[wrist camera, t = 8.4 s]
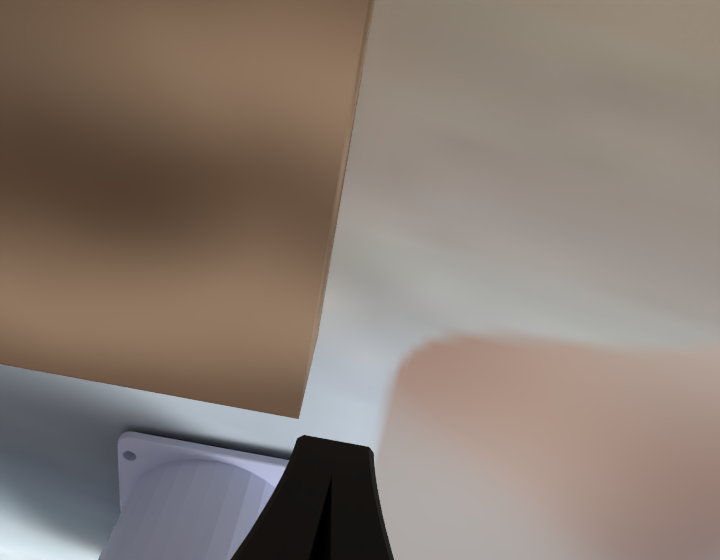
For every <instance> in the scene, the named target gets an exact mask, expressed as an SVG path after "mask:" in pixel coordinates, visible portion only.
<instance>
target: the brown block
mask: <svg viewBox="0 0 720 560" xmlns="http://www.w3.org/2000/svg"><path fill="white" fill-rule="evenodd" d="M373 4H374V0H0V364H3V365H8V366H14V367H19V368H25V369H30V370H36V371H41V372H47V373H52V374H57V375H63V376H68V377H74V378H79V379H85V380H90V381H95V382H101V383H106V384H112V385H117V386H123V387H128V388H133V389H139V390H144V391H150V392H155V393H161V394H166V395H172V396H177V397H182V398H188V399H193V400H199V401H204V402H210V403H215V404H220V405H226V406H231V407H237V408H242V409H248V410H253V411H259V412H264V413H269V414H275V415H280V416H286V417H291V418H297V419H299V415H300V410H301V406H302V402H303V397H304V393H305V389H306V384H307V380H308V376H309V371H310V367H311V363H312V359H313V354H314V350H315V346H316V341H317V337H318V331H319V325H320V319H321V313H322V307H323V301H324V295H325V289H326V283H327V277H328V271H329V266H330V260H331V254H332V248H333V242H334V236H335V230H336V224H337V218H338V212H339V206H340V200H341V194H342V188H343V182H344V176H345V171H346V165H347V159H348V153H349V147H350V141H351V135H352V129H353V123H354V117H355V111H356V105H357V99H358V93H359V87H360V82H361V76H362V70H363V64H364V58H365V52H366V46H367V40H368V34H369V28H370V22H371V16H372V10H373Z"/></svg>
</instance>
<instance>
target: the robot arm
mask: <svg viewBox="0 0 720 560" xmlns="http://www.w3.org/2000/svg"><path fill="white" fill-rule="evenodd" d="M117 453H118V475H119V496H120V516H119V518H118V520H117V522H116V524H115V526H114V528H113V530H112V532H111V534H110V536H109V538H108V540H107V543H106V545H105V547H104V549H103V551H102V553H101V555H100V557H99V559H98V560H394V558H393V555H392V551H391V547H390V543H389V539H388V536H387V532H386V528H385V524H384V519H383V515H382V510H381V505H380V500H379V495H378V489H377V483H376V476H375V467H374V453H373V451H372V450H371V449H370V448H369V447H366V446H361V445H355V444H350V443H344V442H339V441H334V440H328V439H323V438H317V437H312V436H306V435H303V436H301V437H299V438H297V441H296V444H295V447H294V450H293V452H292V455H291V457H290V460H285V459H280V458H274V457H269V456H263V455H258V454H252V453H247V452H242V451H236V450H231V449H225V448H220V447H214V446H209V445H203V444H198V443H192V442H187V441H181V440H176V439H170V438H165V437H159V436H154V435H148V434H143V433H137V432H124V433H123V434H122V435H121V436H120V438H119V440H118V442H117Z"/></svg>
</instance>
